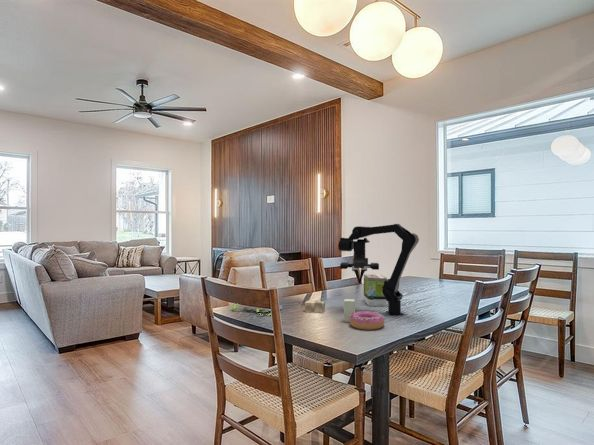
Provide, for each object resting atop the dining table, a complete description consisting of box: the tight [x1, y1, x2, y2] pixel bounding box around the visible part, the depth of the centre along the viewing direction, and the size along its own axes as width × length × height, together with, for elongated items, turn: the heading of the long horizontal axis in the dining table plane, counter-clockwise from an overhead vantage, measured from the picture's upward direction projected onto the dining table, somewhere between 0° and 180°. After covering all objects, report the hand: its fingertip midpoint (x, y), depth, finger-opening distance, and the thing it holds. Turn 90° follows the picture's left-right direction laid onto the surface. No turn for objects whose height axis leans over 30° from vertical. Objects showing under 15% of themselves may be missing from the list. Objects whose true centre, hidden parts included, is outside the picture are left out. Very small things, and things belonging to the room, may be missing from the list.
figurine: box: [230, 303, 284, 316], centre depth 186 cm, size 18×27×6 cm
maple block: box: [304, 300, 326, 314], centre depth 183 cm, size 4×4×9 cm
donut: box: [349, 310, 385, 331], centre depth 157 cm, size 14×14×5 cm
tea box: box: [363, 273, 388, 307], centre depth 201 cm, size 15×10×15 cm, turn 179°
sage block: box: [343, 298, 356, 323], centre depth 165 cm, size 4×4×9 cm
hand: (359, 283), depth 186 cm, fingers closed
